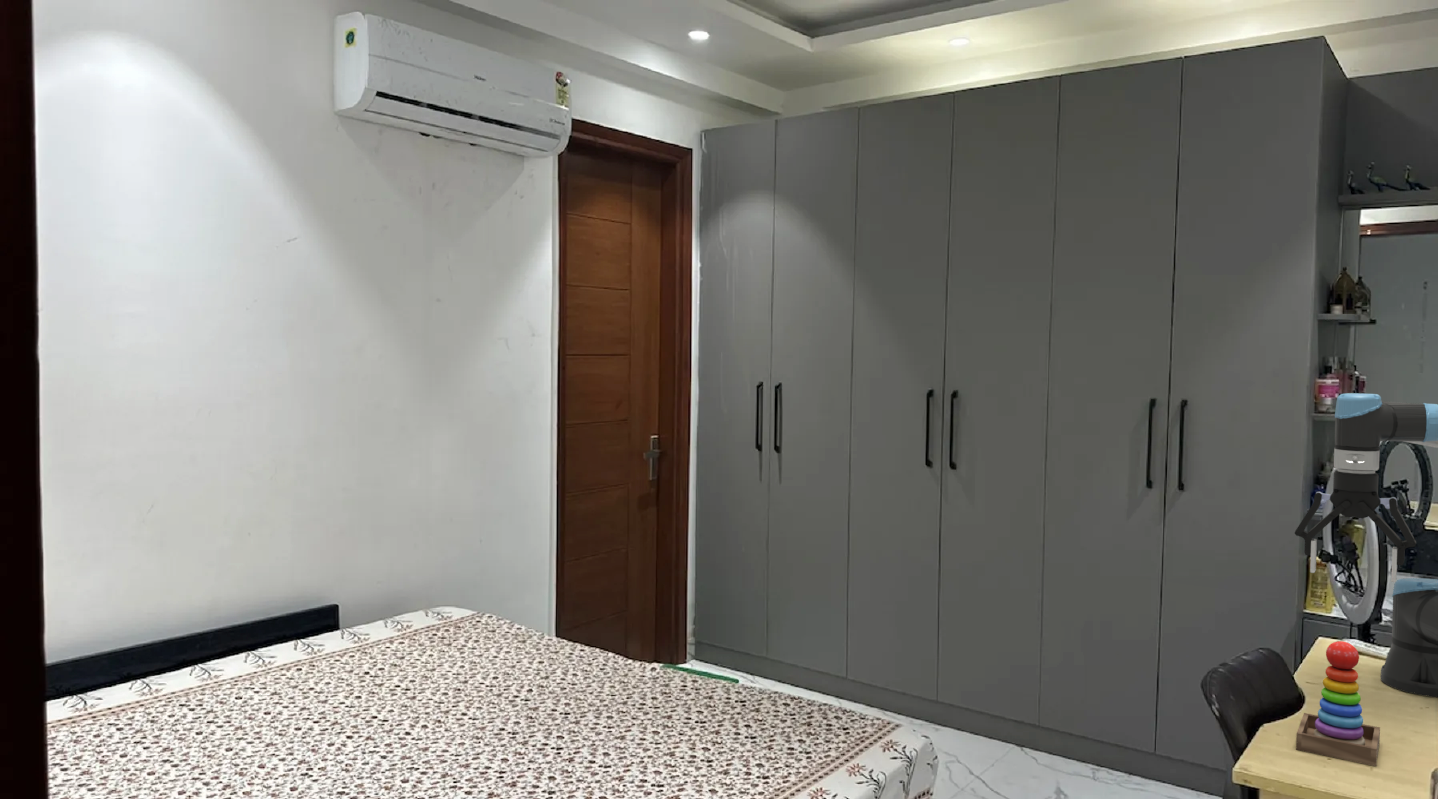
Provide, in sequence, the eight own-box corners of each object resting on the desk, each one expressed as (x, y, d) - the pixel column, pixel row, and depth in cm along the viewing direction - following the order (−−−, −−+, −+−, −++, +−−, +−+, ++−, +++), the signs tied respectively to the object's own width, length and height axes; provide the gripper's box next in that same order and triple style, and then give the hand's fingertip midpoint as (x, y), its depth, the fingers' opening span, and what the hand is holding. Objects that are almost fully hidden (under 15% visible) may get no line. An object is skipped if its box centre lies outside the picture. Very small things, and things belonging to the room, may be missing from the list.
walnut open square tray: (1303, 728, 186) (1304, 712, 185) (1379, 743, 178) (1380, 727, 178) (1296, 749, 176) (1296, 733, 176) (1375, 766, 169) (1376, 749, 169)
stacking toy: (1373, 754, 172) (1376, 650, 171) (1323, 751, 174) (1326, 648, 173) (1353, 736, 180) (1357, 637, 179) (1306, 733, 182) (1309, 634, 180)
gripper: (1281, 468, 198) (1278, 571, 199) (1433, 477, 183) (1429, 588, 185) (1286, 464, 204) (1283, 564, 205) (1433, 473, 189) (1429, 581, 191)
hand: (1352, 576), depth 195 cm, fingers open, 13 cm apart
